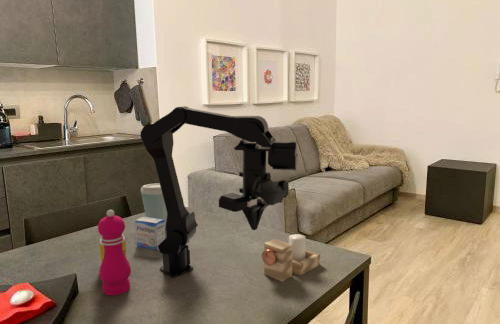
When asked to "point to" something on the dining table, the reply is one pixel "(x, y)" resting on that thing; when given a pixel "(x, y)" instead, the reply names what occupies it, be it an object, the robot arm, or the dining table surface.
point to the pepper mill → (113, 256)
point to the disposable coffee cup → (153, 201)
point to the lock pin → (269, 257)
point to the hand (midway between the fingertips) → (254, 229)
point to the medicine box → (149, 232)
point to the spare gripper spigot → (297, 247)
